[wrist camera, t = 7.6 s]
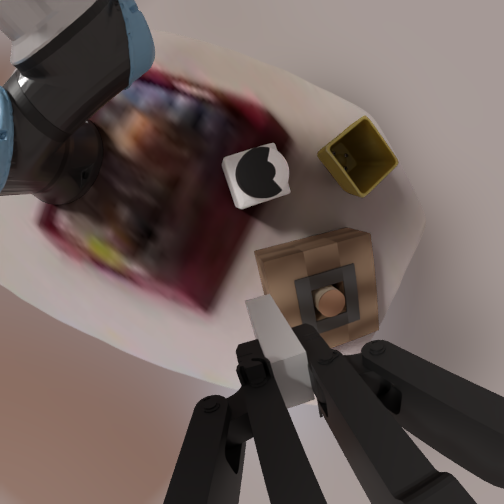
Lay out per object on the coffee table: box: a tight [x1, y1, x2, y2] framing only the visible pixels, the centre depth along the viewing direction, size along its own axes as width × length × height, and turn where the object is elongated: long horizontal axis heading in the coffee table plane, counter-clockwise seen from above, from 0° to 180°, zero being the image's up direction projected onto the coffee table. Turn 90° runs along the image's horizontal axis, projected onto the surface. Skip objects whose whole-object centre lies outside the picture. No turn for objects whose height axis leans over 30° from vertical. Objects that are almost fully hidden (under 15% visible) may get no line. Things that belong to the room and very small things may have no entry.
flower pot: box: [317, 116, 399, 198], centre depth 40 cm, size 9×9×9 cm
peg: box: [311, 285, 345, 317], centre depth 42 cm, size 4×4×8 cm
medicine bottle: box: [222, 143, 291, 209], centre depth 37 cm, size 7×7×12 cm
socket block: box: [254, 228, 379, 348], centre depth 43 cm, size 16×16×8 cm
